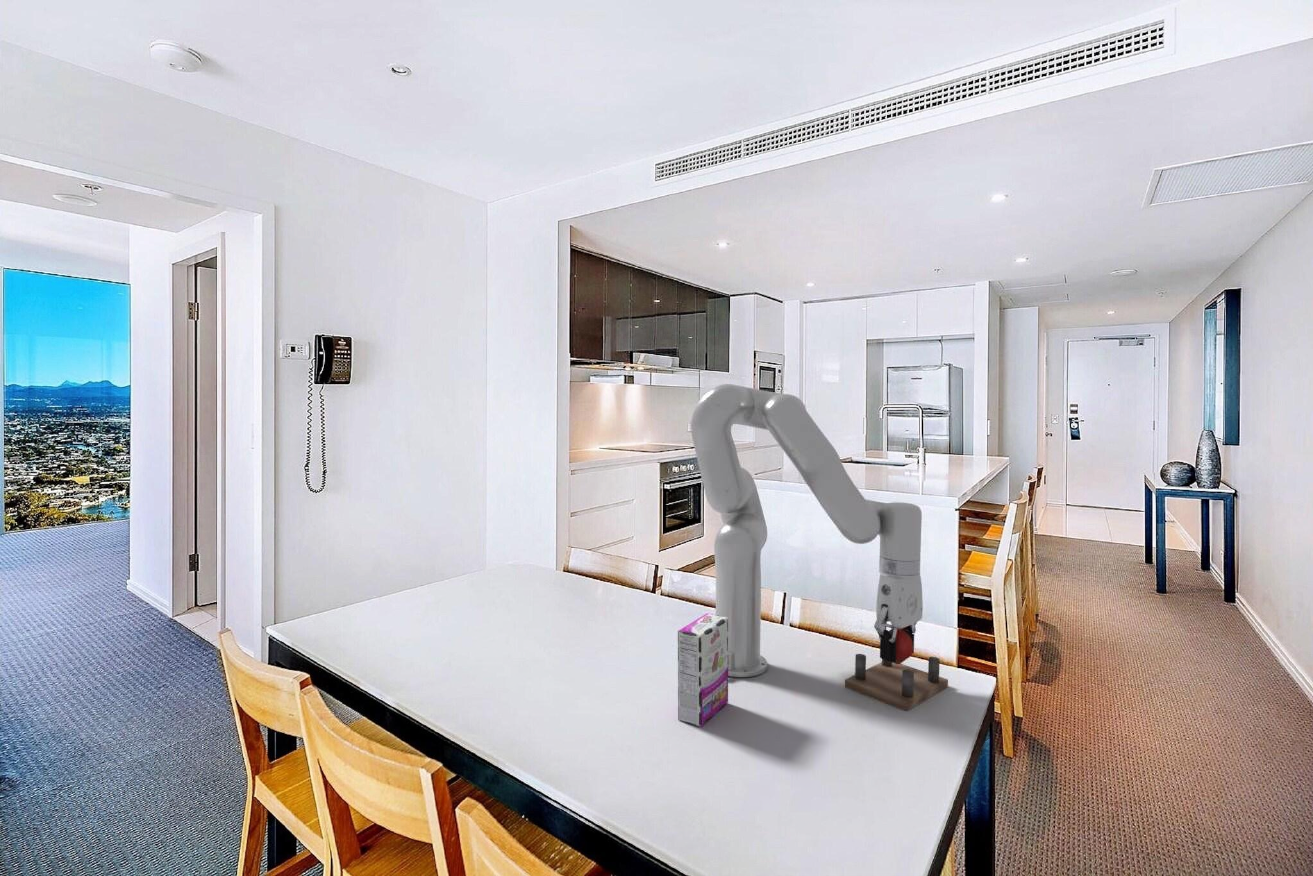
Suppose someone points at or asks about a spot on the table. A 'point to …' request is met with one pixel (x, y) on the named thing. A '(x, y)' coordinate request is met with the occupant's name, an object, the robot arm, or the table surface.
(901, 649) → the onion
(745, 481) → the robot arm
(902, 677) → the peg holder
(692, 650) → the candy bar box
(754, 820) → the table surface
